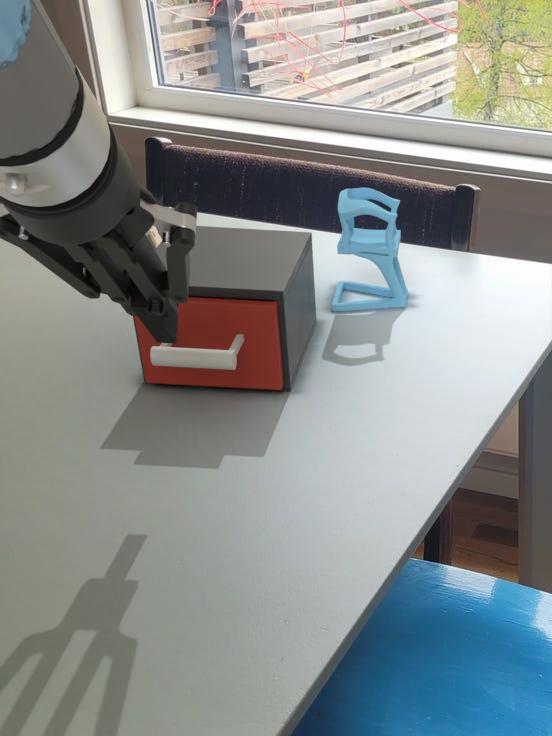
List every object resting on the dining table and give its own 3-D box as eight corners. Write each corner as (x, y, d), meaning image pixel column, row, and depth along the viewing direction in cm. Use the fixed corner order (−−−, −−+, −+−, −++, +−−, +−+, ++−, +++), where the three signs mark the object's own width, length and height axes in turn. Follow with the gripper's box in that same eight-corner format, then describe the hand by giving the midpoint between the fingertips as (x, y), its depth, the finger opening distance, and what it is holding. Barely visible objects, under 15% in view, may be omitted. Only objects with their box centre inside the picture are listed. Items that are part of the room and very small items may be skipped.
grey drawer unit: (291, 394, 94) (283, 291, 88) (144, 386, 94) (126, 282, 88) (316, 326, 107) (311, 232, 101) (188, 319, 107) (175, 224, 101)
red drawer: (270, 418, 88) (262, 332, 83) (127, 411, 88) (111, 323, 83) (307, 325, 104) (302, 249, 100) (187, 319, 104) (176, 242, 99)
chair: (406, 316, 110) (406, 203, 103) (331, 313, 110) (325, 199, 102) (409, 291, 116) (410, 182, 109) (338, 288, 116) (333, 178, 108)
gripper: (-82, 206, 54) (80, 368, 78) (158, 220, 54) (247, 377, 78) (-68, 77, 55) (88, 276, 78) (169, 92, 55) (254, 285, 79)
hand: (167, 326), depth 78 cm, fingers closed
